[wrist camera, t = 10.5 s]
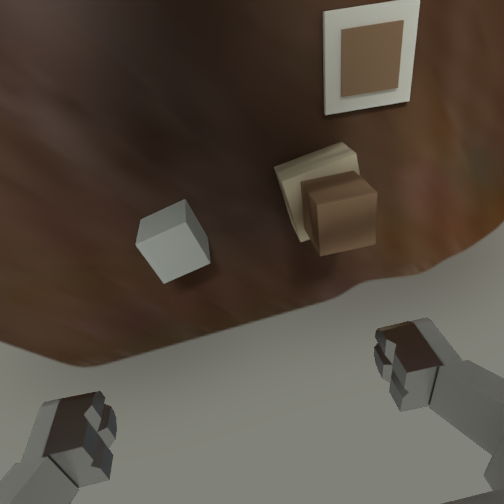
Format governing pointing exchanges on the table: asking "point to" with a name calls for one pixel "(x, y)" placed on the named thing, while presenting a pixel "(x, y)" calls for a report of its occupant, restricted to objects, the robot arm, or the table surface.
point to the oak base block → (311, 177)
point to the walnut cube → (339, 212)
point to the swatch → (368, 55)
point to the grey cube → (173, 241)
